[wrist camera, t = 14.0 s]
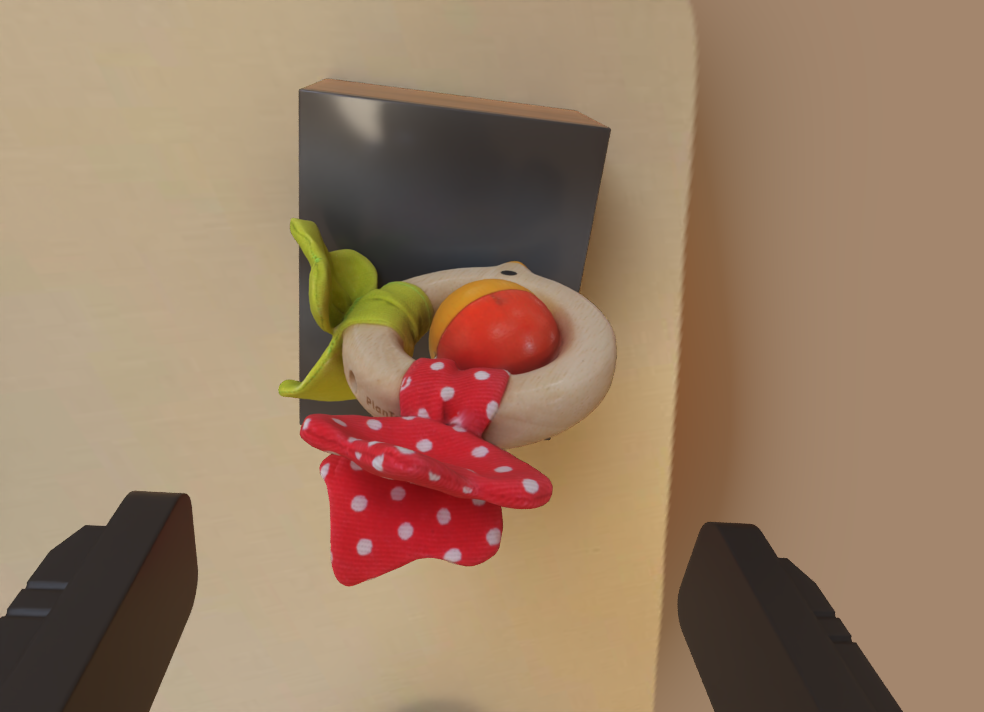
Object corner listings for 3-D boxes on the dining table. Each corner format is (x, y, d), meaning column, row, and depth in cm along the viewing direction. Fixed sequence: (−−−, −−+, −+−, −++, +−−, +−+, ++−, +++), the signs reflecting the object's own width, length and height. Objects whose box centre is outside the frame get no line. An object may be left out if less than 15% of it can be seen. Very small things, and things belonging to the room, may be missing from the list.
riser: (325, 78, 22) (298, 88, 18) (577, 110, 24) (611, 128, 19) (321, 361, 27) (299, 425, 23) (531, 377, 28) (550, 440, 24)
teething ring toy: (492, 167, 21) (204, 225, 18) (768, 242, 12) (302, 387, 9) (508, 337, 24) (262, 417, 21) (741, 497, 15) (379, 684, 12)
